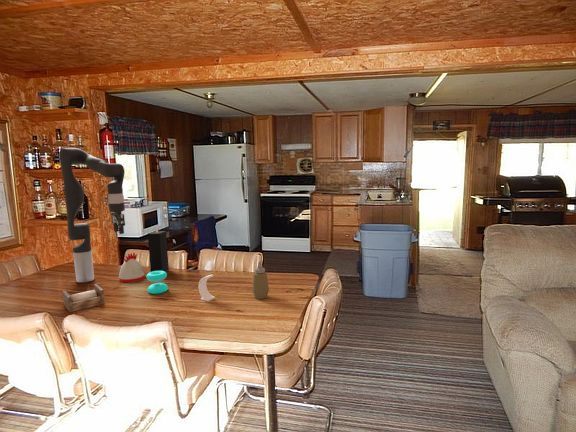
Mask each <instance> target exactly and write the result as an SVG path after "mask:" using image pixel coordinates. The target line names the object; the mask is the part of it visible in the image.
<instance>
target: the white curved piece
mask: <svg viewBox="0 0 576 432" xmlns="http://www.w3.org/2000/svg"><path fill="white" fill-rule="evenodd" d="M212 277H214V274H209V275H205V276H203V277H202V278H201V277H200V279H199V282H198V286H197V287H198V291H199V294H200V296H201V297H200V300H201V301H204V302H210V301H212V300H215V299H216V297H215V296H214V295H212V294H211V293H210V292H209V289H208V287H207V281H208V279H210V278H212Z"/></svg>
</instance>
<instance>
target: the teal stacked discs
mask: <svg viewBox="0 0 576 432" xmlns="http://www.w3.org/2000/svg"><path fill="white" fill-rule="evenodd" d="M167 277H168V273H167V271H166V272H165V271H153V272H151V271H150V272H148V273H147V274H146V275H145V278H146V279H147V281H150V282H155V283H152V284H150V285H149V286H148V287H147V292H148V294H151V295H157V294H162V293H166V292H167V291H168V290H169V286H168V285H167V284H166V283H164V282H161V281H163V280H164V279H167ZM159 281H160V282H159Z"/></svg>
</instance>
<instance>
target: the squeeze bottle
mask: <svg viewBox="0 0 576 432" xmlns="http://www.w3.org/2000/svg"><path fill="white" fill-rule="evenodd" d="M267 274H268V273H267V272H266V268H264V267H263V264H262V261H260V260H258V262H257V267H256V268H255V269H254V273H253V274H252V294H253V296H254V298H255V299H256V300H263V299H264V300H265V299H267V298H268V294H269V291H270V286H269V281H268V280H269V279H268V275H267Z"/></svg>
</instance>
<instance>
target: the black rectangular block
mask: <svg viewBox="0 0 576 432" xmlns="http://www.w3.org/2000/svg"><path fill="white" fill-rule="evenodd" d="M159 229H160V227H158V226H154V230H153V231H151V232H148V233H147V243H148V254H149V266H150V269H149V270H150V272H153V271H165V272H166V273H167V272H168V271H169V270H170V268H169V253H168V241H167V239H168V238H167V230H159Z"/></svg>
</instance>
